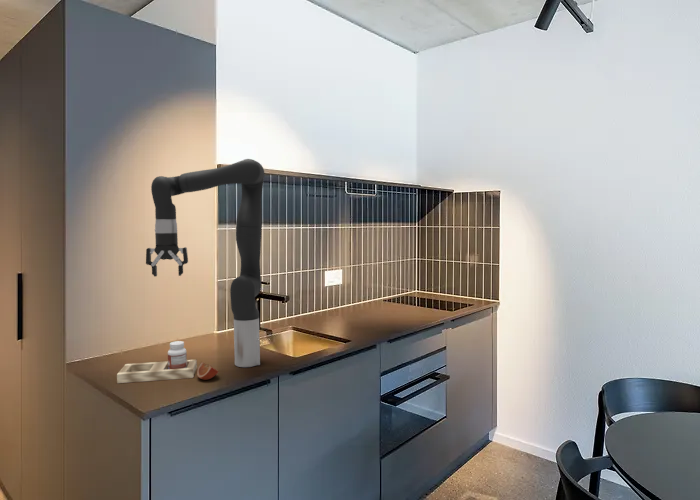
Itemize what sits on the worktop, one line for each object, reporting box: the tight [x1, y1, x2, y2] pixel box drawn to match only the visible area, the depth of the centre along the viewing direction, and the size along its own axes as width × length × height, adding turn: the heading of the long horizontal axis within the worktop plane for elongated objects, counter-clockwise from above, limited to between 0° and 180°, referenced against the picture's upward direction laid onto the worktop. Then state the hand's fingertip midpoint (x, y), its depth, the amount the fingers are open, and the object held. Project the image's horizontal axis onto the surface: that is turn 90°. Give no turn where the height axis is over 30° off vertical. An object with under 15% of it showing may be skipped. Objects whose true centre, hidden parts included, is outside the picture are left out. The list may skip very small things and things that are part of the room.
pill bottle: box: [167, 340, 188, 369], centre depth 163 cm, size 6×6×11 cm
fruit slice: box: [196, 361, 219, 381], centre depth 159 cm, size 8×7×5 cm
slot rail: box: [116, 359, 198, 384], centre depth 162 cm, size 24×11×3 cm, turn 102°
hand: (167, 275), depth 172 cm, fingers open, 8 cm apart
